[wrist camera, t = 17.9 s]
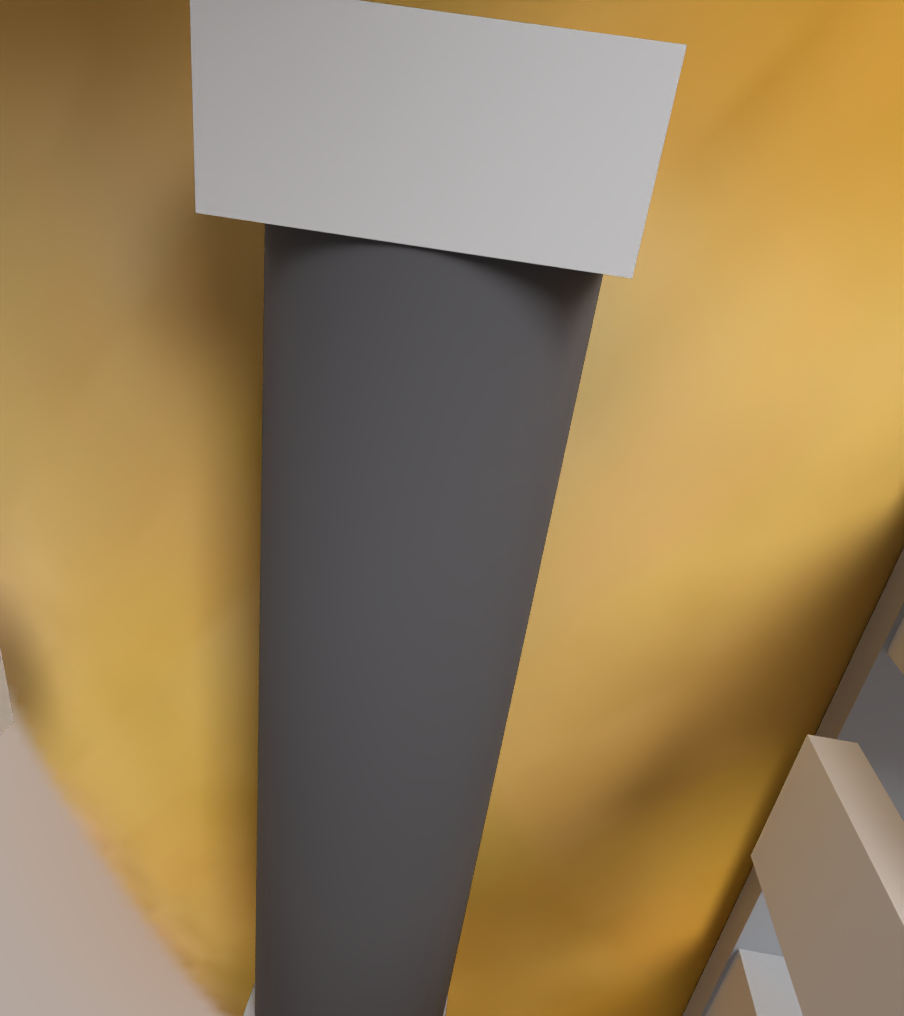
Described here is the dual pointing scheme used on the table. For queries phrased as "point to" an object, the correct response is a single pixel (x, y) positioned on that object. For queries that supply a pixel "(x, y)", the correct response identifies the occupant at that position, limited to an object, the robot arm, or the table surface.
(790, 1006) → the cradle
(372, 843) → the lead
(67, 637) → the table surface
